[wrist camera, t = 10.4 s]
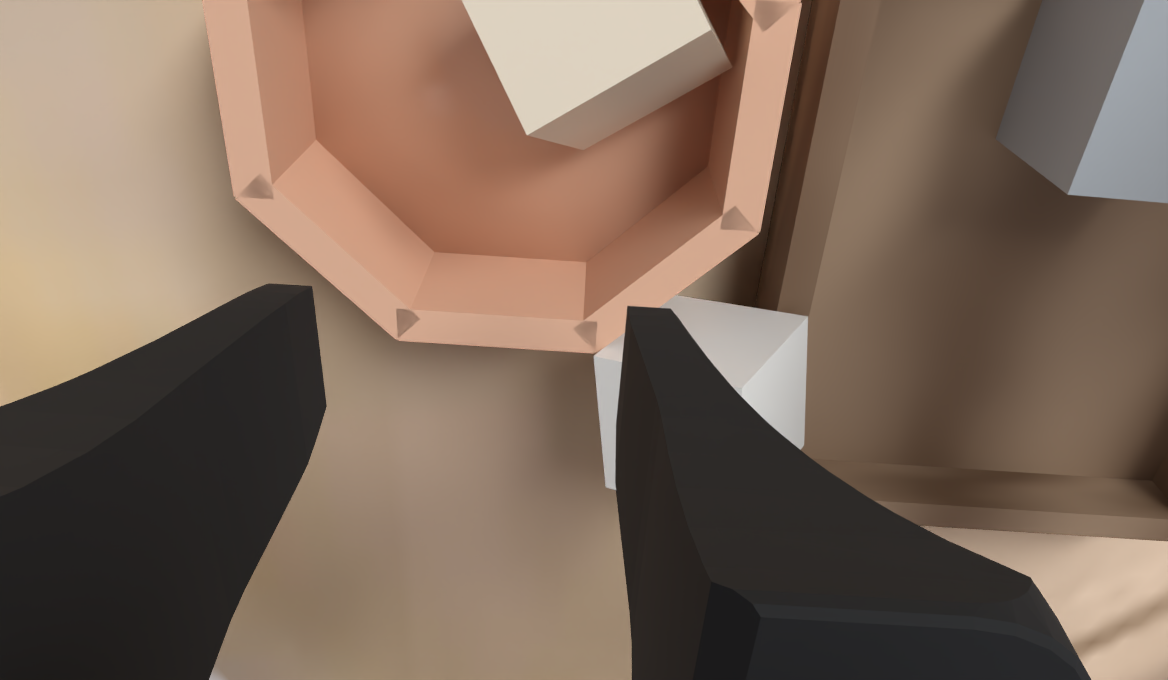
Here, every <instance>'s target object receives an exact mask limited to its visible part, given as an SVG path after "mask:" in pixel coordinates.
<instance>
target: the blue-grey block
mask: <svg viewBox="0 0 1168 680" xmlns="http://www.w3.org/2000/svg"><path fill="white" fill-rule="evenodd" d="M996 140H997V141H999V142H1000V143H1001V144H1003V145H1004V146H1005V147H1006V148H1008V149H1009V150H1010V151H1012V152H1013V153H1014V154H1015V155H1017V156H1018V157H1019V158H1021V159H1022V160H1023V161H1025V162H1026V163H1027V164H1028V165H1030V166H1031V167H1032V168H1034V169H1035V170H1036V171H1038V172H1039V173H1040V174H1041V175H1043V176H1044V177H1045V178H1047V179H1048V180H1049V181H1051V182H1052V183H1053V184H1054V185H1056V186H1057V187H1058V188H1060V189H1061V190H1062V191H1063V192H1065V193H1066V194H1067V195H1078V196H1090V197H1101V198H1113V199H1125V200H1137V201H1148V202H1160V203H1168V0H1042V3H1041V6H1040V9H1039V12H1038V14H1037V17H1036V20H1035V23H1034V26H1033V29H1032V32H1031V35H1030V38H1029V41H1028V44H1027V47H1026V50H1025V53H1024V56H1023V59H1022V62H1021V65H1020V68H1019V71H1018V74H1017V77H1016V80H1015V83H1014V86H1013V89H1012V92H1011V95H1010V98H1009V101H1008V103H1007V106H1006V109H1005V112H1004V115H1003V118H1002V121H1001V124H1000V127H999V130H998V133H997V136H996Z"/></svg>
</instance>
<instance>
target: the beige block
mask: <svg viewBox="0 0 1168 680" xmlns="http://www.w3.org/2000/svg"><path fill="white" fill-rule="evenodd" d="M462 2H463V4H464V6H465V8H466V10H467V12H468V14H469V16H470V19H471V21H472V23H473V25H474V27H475V29H476V31H477V33H478V35H479V37H480V39H481V41H482V43H483V45H484V48H485V50H486V52H487V54H488V56H489V58H490V60H491V62H492V64H493V66H494V68H495V70H496V72H497V74H498V77H499V79H500V81H501V83H502V85H503V87H504V89H505V91H506V93H507V95H508V97H509V99H510V101H511V104H512V106H513V108H514V110H515V112H516V114H517V116H518V118H519V120H520V122H521V124H522V126H523V128H524V130H525V133H526V135H527V136H531V137H535V138H539V139H543V140H546V141H550V142H554V143H558V144H562V145H565V146H569V147H573V148H577V149H581V150H585V149H586V148H588V147H590V146H592V145H594V144H596V143H597V142H599V141H601V140H603V139H605V138H606V137H608V136H610V135H612V134H614V133H615V132H617V131H619V130H621V129H623V128H624V127H626V126H628V125H630V124H632V123H633V122H635V121H637V120H639V119H641V118H642V117H644V116H646V115H648V114H650V113H651V112H653V111H655V110H657V109H659V108H660V107H662V106H664V105H666V104H668V103H669V102H671V101H673V100H675V99H677V98H678V97H680V96H682V95H684V94H686V93H687V92H689V91H691V90H693V89H695V88H696V87H698V86H700V85H702V84H704V83H705V82H707V81H709V80H711V79H713V78H714V77H716V76H718V75H720V74H722V73H723V72H725V71H727V70H729V69H731V68H732V65H731V63H730V60H729V58H728V56H727V54H726V52H725V50H724V48H723V46H722V44H721V42H720V39H719V37H718V35H717V33H716V31H715V29H714V27H713V25H712V23H711V21H710V18H709V16H708V14H707V12H706V10H705V8H704V6H703V4H702V2H701V0H462Z"/></svg>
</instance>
